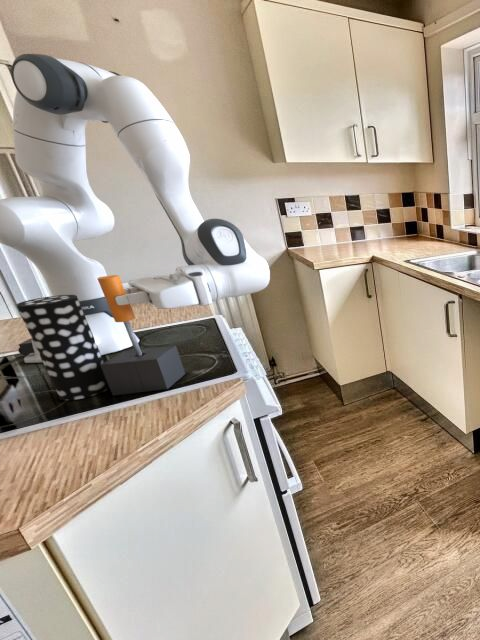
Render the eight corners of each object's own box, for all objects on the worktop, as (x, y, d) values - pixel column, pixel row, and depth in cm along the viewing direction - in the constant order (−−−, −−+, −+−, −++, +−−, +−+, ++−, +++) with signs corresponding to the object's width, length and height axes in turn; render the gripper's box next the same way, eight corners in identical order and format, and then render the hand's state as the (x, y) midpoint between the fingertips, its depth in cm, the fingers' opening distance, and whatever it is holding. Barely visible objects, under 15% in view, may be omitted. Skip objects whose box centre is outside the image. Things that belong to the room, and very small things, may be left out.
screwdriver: (126, 359, 88) (93, 279, 81) (135, 353, 91) (103, 275, 84) (144, 357, 88) (112, 277, 82) (152, 351, 91) (122, 274, 85)
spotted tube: (52, 404, 84) (6, 308, 77) (69, 387, 91) (28, 298, 84) (105, 394, 88) (66, 301, 81) (118, 379, 95) (83, 292, 88)
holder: (112, 395, 87) (99, 364, 85) (135, 379, 94) (124, 350, 92) (167, 389, 89) (156, 359, 87) (185, 373, 97) (176, 345, 94)
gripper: (173, 266, 99) (95, 277, 89) (205, 276, 87) (119, 290, 77) (181, 292, 102) (106, 306, 91) (214, 305, 90) (131, 323, 80)
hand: (112, 299), depth 84 cm, fingers closed on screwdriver, 3 cm apart
